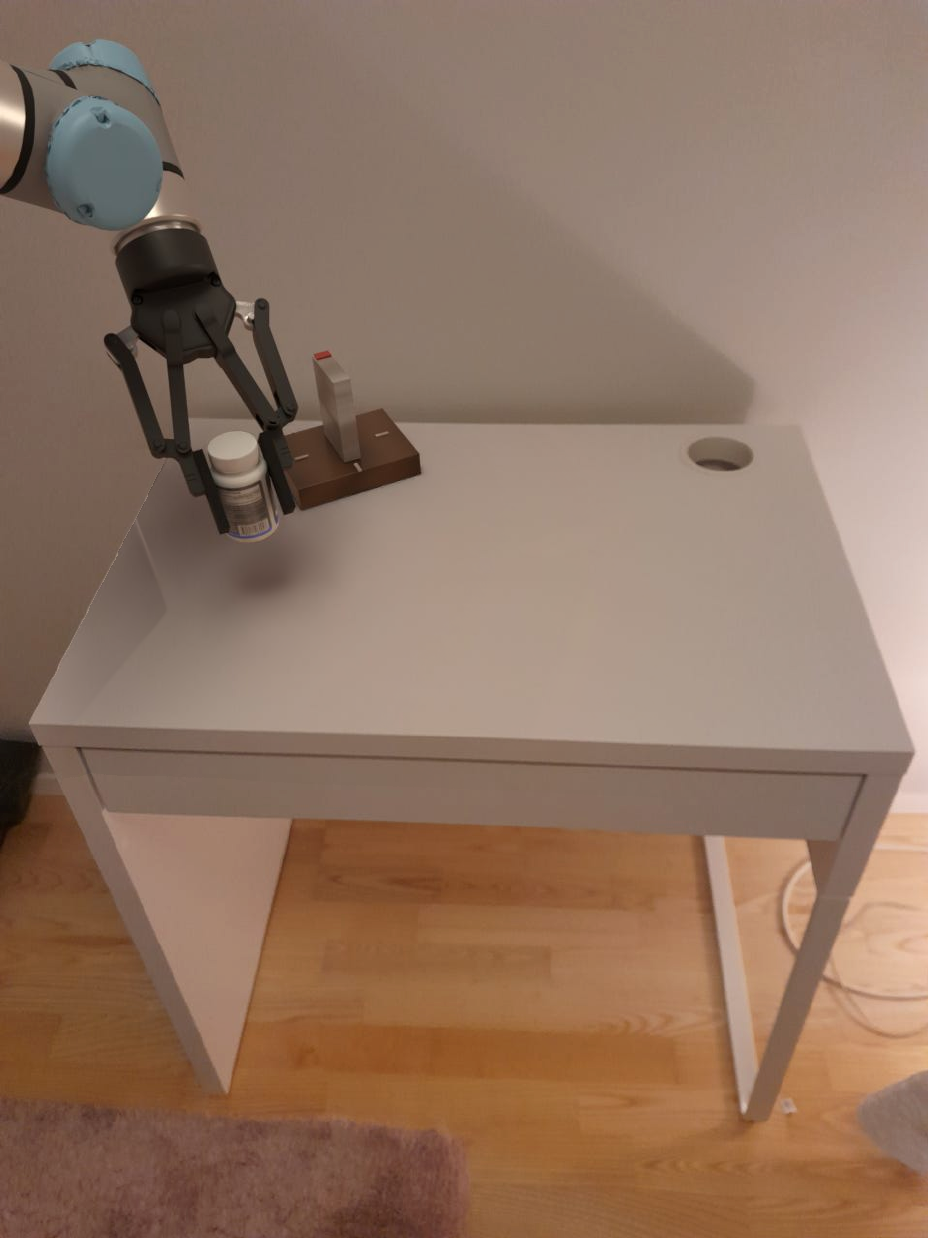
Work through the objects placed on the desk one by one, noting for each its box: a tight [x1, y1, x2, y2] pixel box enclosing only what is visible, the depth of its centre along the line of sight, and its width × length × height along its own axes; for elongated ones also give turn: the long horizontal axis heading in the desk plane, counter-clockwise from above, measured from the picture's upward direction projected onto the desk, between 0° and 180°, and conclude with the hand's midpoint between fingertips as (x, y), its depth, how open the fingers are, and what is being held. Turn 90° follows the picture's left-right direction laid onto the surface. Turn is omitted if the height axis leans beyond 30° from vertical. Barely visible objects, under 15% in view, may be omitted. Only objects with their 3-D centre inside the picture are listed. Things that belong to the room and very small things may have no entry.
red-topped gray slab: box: [311, 350, 361, 463], centre depth 93 cm, size 6×2×9 cm, turn 26°
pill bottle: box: [206, 430, 280, 543], centre depth 78 cm, size 5×5×8 cm
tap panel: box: [284, 407, 422, 510], centre depth 97 cm, size 13×10×3 cm
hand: (257, 520), depth 76 cm, fingers closed on pill bottle, 5 cm apart
